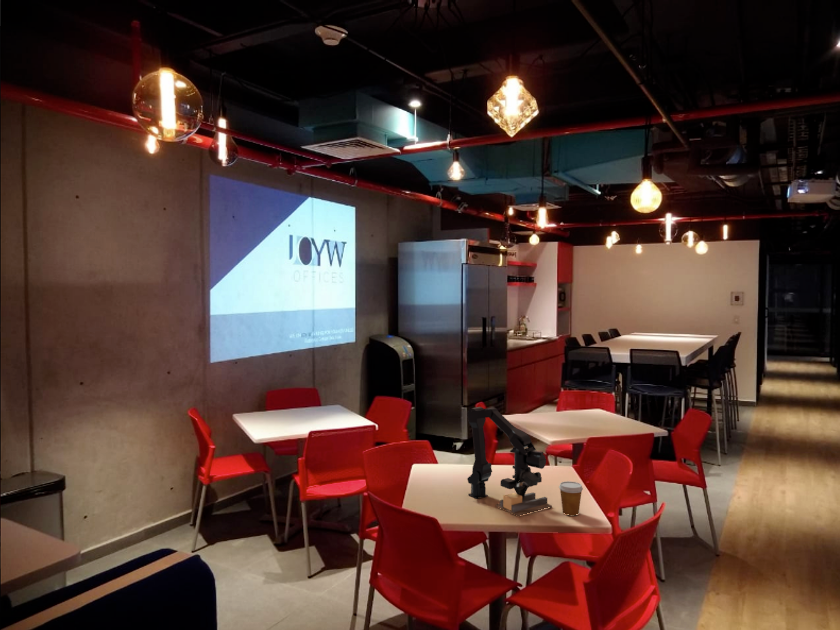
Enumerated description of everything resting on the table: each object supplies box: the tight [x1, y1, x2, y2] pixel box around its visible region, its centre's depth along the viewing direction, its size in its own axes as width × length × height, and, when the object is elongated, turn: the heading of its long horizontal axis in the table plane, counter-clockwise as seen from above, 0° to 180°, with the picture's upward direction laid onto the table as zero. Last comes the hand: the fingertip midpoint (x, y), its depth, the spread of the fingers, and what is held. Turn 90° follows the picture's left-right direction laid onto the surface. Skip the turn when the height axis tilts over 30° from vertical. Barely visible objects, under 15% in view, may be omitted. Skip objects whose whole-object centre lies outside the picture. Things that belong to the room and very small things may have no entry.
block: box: [502, 492, 522, 510], centre depth 245 cm, size 5×6×5 cm
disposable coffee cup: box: [558, 480, 584, 515], centre depth 241 cm, size 10×10×12 cm
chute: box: [495, 492, 553, 517], centre depth 248 cm, size 14×19×4 cm
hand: (521, 500), depth 248 cm, fingers closed
